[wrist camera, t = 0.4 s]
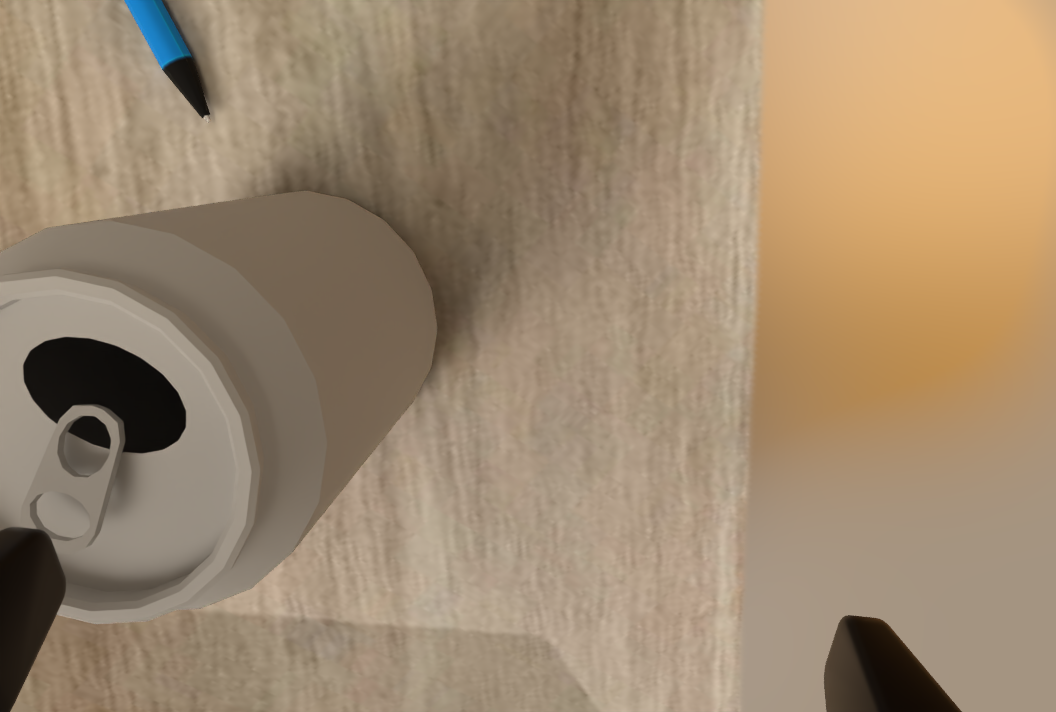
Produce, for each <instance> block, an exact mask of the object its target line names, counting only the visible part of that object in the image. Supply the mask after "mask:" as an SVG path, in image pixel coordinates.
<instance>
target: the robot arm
mask: <svg viewBox="0 0 1056 712" xmlns="http://www.w3.org/2000/svg"><path fill="white" fill-rule="evenodd" d="M65 592H66V577H65V574H64V571H63V569H62V566H61V564H60V561H59V558H58V556H57V553H56V550H55V548H54V545H53V543H52V540H51V538H50V536H49V535H48V534H47V533H46V532H45V531H43V530H40V529H32V528H23V527H8V528H5V529H3V530H1V531H0V712H10V711H11V709H12V707H13V705H14V703H15V701H16V699H17V697H18V695H19V693H20V690H21V688H22V686H23V684H24V682H25V680H26V678H27V676H28V674H29V671H30V669H31V667H32V665H33V663H34V661H35V659H36V657H37V655H38V652H39V650H40V648H41V646H42V644H43V642H44V640H45V638H46V636H47V634H48V631H49V629H50V627H51V625H52V623H53V621H54V619H55V617H56V615H57V612H58V610H59V608H60V606H61V604H62V602H63V599H64V596H65ZM824 689H825V699H826V710H827V712H962V711H961V710H960V709H959V708H958V707H957V706H956V704H955V703H954V702H953V701H952V700H951V699H950V697H949V696H948V695H947V694H946V693H945V691H944V690H943V689H942V688H941V687H940V685H939V684H938V683H937V682H936V681H935V680H934V678H933V677H932V676H931V675H930V674H929V672H928V671H927V670H926V669H925V668H924V666H923V665H922V664H921V663H920V662H919V661H918V659H917V658H916V657H915V656H914V655H913V654H912V652H911V651H910V650H909V649H908V648H907V646H906V645H905V644H904V643H903V642H902V640H901V639H900V638H899V637H898V636H897V635H896V633H895V632H894V631H893V630H892V629H891V627H890V626H889V625H888V624H887V623H885V622H884V621H883V620H881V619H877V618H870V617H861V616H850V615H848V616H845V617H843V618H842V619H841V620H840V622H839V624H838V628H837V630H836V634H835V637H834V640H833V643H832V646H831V649H830V652H829V655H828V658H827V661H826V665H825V672H824Z"/></svg>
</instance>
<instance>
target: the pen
mask: <svg viewBox="0 0 1056 712" xmlns="http://www.w3.org/2000/svg"><path fill="white" fill-rule="evenodd" d="M124 1H125V2H126V4H127V6H128V8H129V10H130V11H131V13H132V15H133V17H134V19H135V21H136V22H137V24H138V26H139V28H140V30H141V32H142V33H143V35H144V37H145V39H146V41H147V43H148V44H149V46H150V48H151V50H152V52H153V54H154V55H155V57H156V59H157V61H158V63H159V64H160V66H161V68H162V70H163V71H164V72H165V74H166V75H167V76H168V77H169V78H170V80H171V81H172V82H173V83H174V84H175V86H176V87H177V88H178V89H179V91H180V92H181V93H182V94H183V95H184V97H185V98H186V99H187V100H188V101H189V103H190V104H191V105H192V106H193V108H194V109H195V110H196V111H197V112H198V114H199V115H200V116H201V117H202V118H205V120H206V122H208V123H209V122H211V119H210V117H209V115H210V113H209V109H208V106H207V103H206V100H205V96H204V93H203V90H202V87H201V83H200V80H199V77H198V74H197V70H196V67H195V64H194V60H193V58H192V56H191V54H190V52H189V50H188V48H187V47H186V45H185V43H184V41H183V39H182V37H181V35H180V34H179V32H178V30H177V28H176V26H175V24H174V22H173V21H172V19H171V17H170V15H169V13H168V11H167V9H166V8H165V6H164V4H163V2H162V0H124Z"/></svg>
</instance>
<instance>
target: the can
mask: <svg viewBox="0 0 1056 712" xmlns="http://www.w3.org/2000/svg"><path fill="white" fill-rule="evenodd" d="M437 330H438V329H437V322H436V315H435V308H434V302H433V295H432V289H431V287H430V285H429V283H428V281H427V279H426V277H425V275H424V272H423V270H422V268H421V266H420V264H419V262H418V260H417V258H416V256H415V254H414V252H413V251H412V249H411V248H410V247H409V246H408V245H407V244H406V243H405V242H404V241H403V240H402V239H401V238H400V237H399V236H398V234H397V233H396V232H395V231H394V230H393V229H392V228H391V227H390V226H389V225H388V224H387V223H386V222H385V221H384V220H383V219H381V218H380V217H378V216H376V215H374V214H373V213H371V212H369V211H367V210H366V209H364V208H362V207H360V206H359V205H357V204H355V203H353V202H352V201H350V200H348V199H345V198H340V197H335V196H331V195H326V194H321V193H316V192H311V191H307V190H306V191H298V192H290V193H282V194H274V195H266V196H259V197H252V198H245V199H239V200H232V201H225V202H218V203H212V204H205V205H198V206H191V207H185V208H178V209H171V210H164V211H158V212H151V213H144V214H137V215H131V216H124V217H117V218H110V219H104V220H97V221H90V222H83V223H77V224H70V225H63V226H56V227H49V228H45V229H43V230H41V231H40V232H38V233H36V234H34V235H32V236H30V237H28V238H26V239H24V240H22V241H21V242H19V243H17V244H15V245H13V246H11V247H9V248H7V249H5V250H3V251H2V252H0V531H1V530H3V529H5V528H8V527H23V528H32V529H40V530H43V531H45V532H46V533H47V534H48V535H49V536H50V538H51V540H52V543H53V545H54V548H55V550H56V553H57V556H58V558H59V561H60V564H61V566H62V569H63V571H64V574H65V577H66V592H65V596H64V599H63V602H62V604H61V606H60V608H59V610H58V612H57V615H60V616H64V617H68V618H72V619H76V620H81V621H85V622H89V623H93V624H107V623H126V622H144V621H150V620H152V619H155V618H157V617H160V616H162V615H165V614H167V613H170V612H172V611H175V610H188V609H201V608H203V607H206V606H208V605H211V604H213V603H216V602H219V601H221V600H224V599H226V598H229V597H231V596H234V595H236V594H239V593H241V592H244V591H246V590H249V589H251V588H253V587H254V586H255V585H256V584H257V583H258V582H259V581H260V580H262V579H263V578H264V577H265V576H266V575H267V574H268V573H269V572H271V571H272V570H273V569H274V568H275V567H276V566H277V565H278V564H280V563H281V562H282V561H283V560H284V559H285V558H286V557H287V556H289V555H290V554H291V553H292V552H293V551H294V550H295V548H296V547H297V546H298V545H299V543H300V542H301V541H302V540H303V538H304V537H305V536H306V535H307V533H308V532H309V531H310V530H311V528H312V527H313V526H314V525H315V523H316V522H317V521H318V520H319V518H320V517H321V516H322V515H323V513H324V512H325V511H326V510H327V508H328V507H329V506H330V505H331V503H332V502H333V501H334V500H335V498H336V497H337V496H338V495H339V493H340V492H341V491H342V490H343V488H344V487H345V486H346V485H347V483H348V482H349V481H350V480H351V478H352V477H353V476H354V475H355V473H356V472H357V471H358V470H359V468H360V467H361V466H362V465H363V463H364V462H365V461H366V460H367V458H368V457H369V456H370V455H371V453H372V452H373V451H374V450H375V448H376V447H377V446H378V445H379V443H380V442H381V441H382V440H383V438H384V437H385V436H386V435H387V433H388V432H389V431H390V430H391V428H392V427H393V426H394V425H395V423H396V422H397V421H398V420H399V418H400V417H401V416H402V415H403V413H404V412H405V411H406V410H407V408H408V407H409V406H410V405H411V403H412V402H413V401H414V399H415V397H416V395H417V393H418V391H419V390H420V388H421V386H422V384H423V382H424V380H425V379H426V377H427V375H428V373H429V371H430V369H431V366H432V360H433V354H434V348H435V342H436V336H437Z"/></svg>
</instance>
